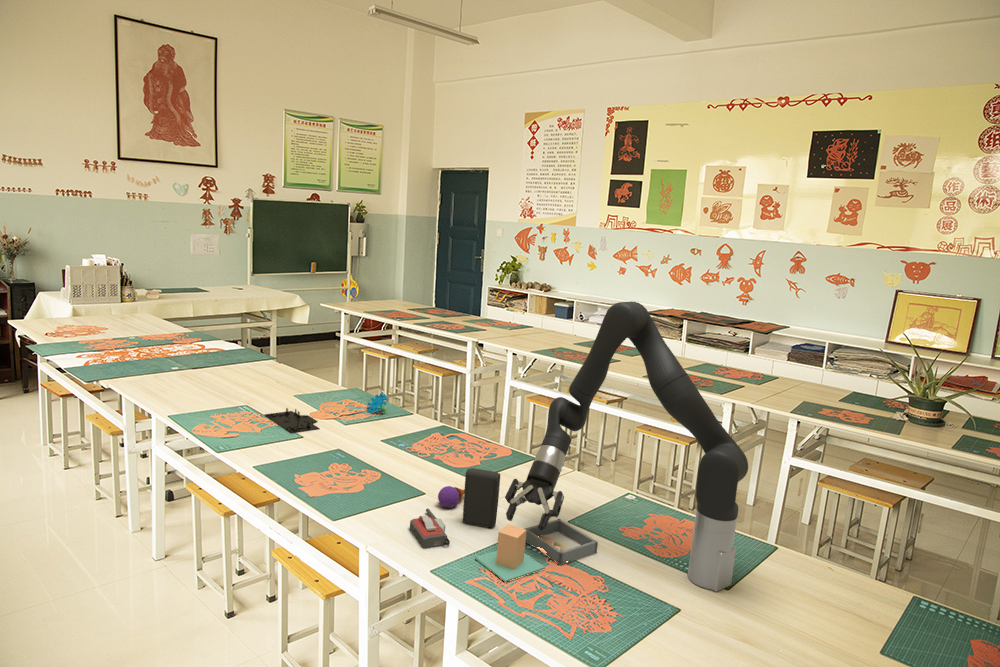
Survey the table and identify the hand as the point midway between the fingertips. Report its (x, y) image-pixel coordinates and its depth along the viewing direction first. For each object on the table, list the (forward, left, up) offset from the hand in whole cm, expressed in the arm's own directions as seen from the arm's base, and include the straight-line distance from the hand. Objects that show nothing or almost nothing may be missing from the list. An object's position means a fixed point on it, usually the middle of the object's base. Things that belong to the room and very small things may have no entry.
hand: (524, 524), depth 159 cm
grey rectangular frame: (-2, -11, -8) cm, 14 cm away
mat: (-3, +6, -8) cm, 10 cm away
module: (-3, +6, -7) cm, 10 cm away
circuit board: (+122, +14, -9) cm, 123 cm away
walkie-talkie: (+22, +14, -8) cm, 27 cm away
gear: (+121, -21, -8) cm, 123 cm away
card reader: (+18, 0, -8) cm, 20 cm away
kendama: (+34, -5, -8) cm, 35 cm away
